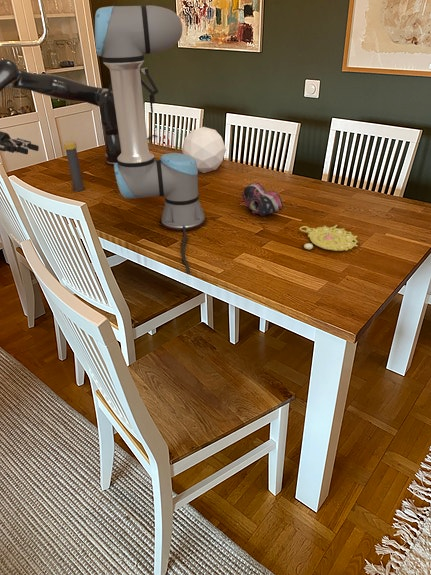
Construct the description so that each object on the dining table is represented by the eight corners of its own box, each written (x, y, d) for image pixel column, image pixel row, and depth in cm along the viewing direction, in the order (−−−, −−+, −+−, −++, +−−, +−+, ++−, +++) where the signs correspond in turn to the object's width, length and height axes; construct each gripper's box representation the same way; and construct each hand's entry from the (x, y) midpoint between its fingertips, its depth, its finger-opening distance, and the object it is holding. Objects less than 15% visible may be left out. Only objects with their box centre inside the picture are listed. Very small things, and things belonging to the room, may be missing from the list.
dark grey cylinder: (71, 190, 187) (62, 145, 177) (78, 187, 190) (69, 142, 180) (79, 191, 185) (70, 146, 175) (86, 188, 188) (77, 143, 178)
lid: (62, 149, 177) (60, 144, 176) (70, 146, 181) (69, 141, 180) (70, 150, 175) (69, 145, 174) (79, 147, 179) (78, 142, 178)
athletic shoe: (254, 181, 170) (227, 189, 167) (283, 176, 151) (253, 185, 147) (260, 210, 173) (234, 218, 170) (290, 209, 154) (261, 219, 150)
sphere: (210, 188, 203) (207, 161, 184) (176, 167, 208) (170, 139, 189) (234, 159, 208) (234, 131, 189) (200, 139, 213) (197, 110, 194)
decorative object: (343, 255, 128) (285, 234, 139) (342, 262, 130) (284, 241, 140) (372, 230, 142) (317, 213, 152) (371, 237, 143) (316, 219, 153)
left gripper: (-16, 132, 173) (24, 143, 172) (5, 128, 185) (42, 138, 185) (-16, 151, 176) (23, 162, 176) (4, 146, 189) (41, 156, 189)
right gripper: (160, 52, 174) (165, 109, 185) (95, 55, 171) (104, 113, 182) (161, 54, 167) (166, 113, 179) (94, 56, 165) (103, 116, 176)
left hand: (33, 150), depth 181 cm, fingers open, 8 cm apart
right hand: (135, 113), depth 181 cm, fingers open, 13 cm apart
